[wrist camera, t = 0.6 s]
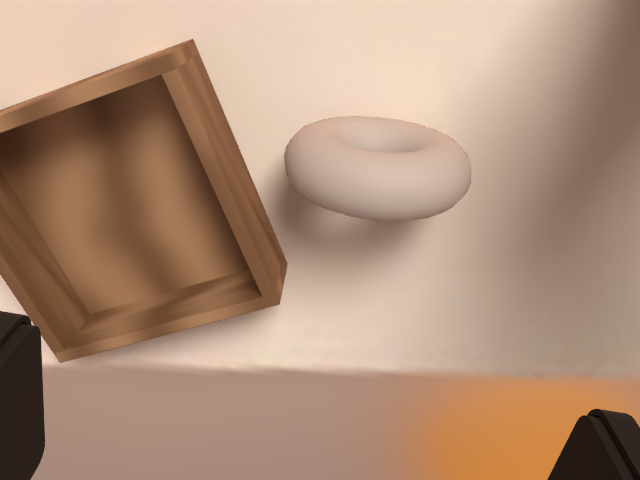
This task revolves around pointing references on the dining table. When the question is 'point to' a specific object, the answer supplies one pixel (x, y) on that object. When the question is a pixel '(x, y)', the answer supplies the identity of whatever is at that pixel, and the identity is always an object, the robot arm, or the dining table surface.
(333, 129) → the donut
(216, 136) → the walnut box
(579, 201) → the dining table surface
